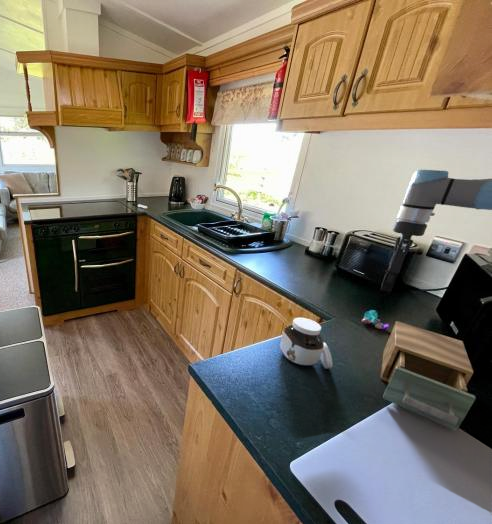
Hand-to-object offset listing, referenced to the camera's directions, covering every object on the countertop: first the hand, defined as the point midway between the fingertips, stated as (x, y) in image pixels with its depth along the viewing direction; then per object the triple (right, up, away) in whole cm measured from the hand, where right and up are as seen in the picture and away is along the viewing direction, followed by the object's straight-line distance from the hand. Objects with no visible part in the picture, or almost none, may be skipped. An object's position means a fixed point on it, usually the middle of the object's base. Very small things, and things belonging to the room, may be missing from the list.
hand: (385, 288), depth 98 cm
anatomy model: (-1, -14, +5) cm, 15 cm away
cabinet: (-9, -22, -20) cm, 31 cm away
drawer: (-18, -25, -30) cm, 42 cm away
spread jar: (-37, -19, -16) cm, 45 cm away
